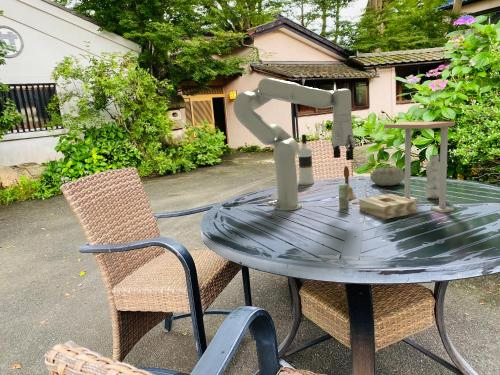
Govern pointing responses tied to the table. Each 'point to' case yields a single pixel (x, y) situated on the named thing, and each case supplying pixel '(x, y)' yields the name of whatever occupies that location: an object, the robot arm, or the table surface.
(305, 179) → the vodka
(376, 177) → the grey rounded lump
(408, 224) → the table surface
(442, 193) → the two-post wooden stand
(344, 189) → the peg
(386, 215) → the socket block
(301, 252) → the table surface
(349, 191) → the hand bell
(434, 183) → the plastic bottle
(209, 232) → the table surface
